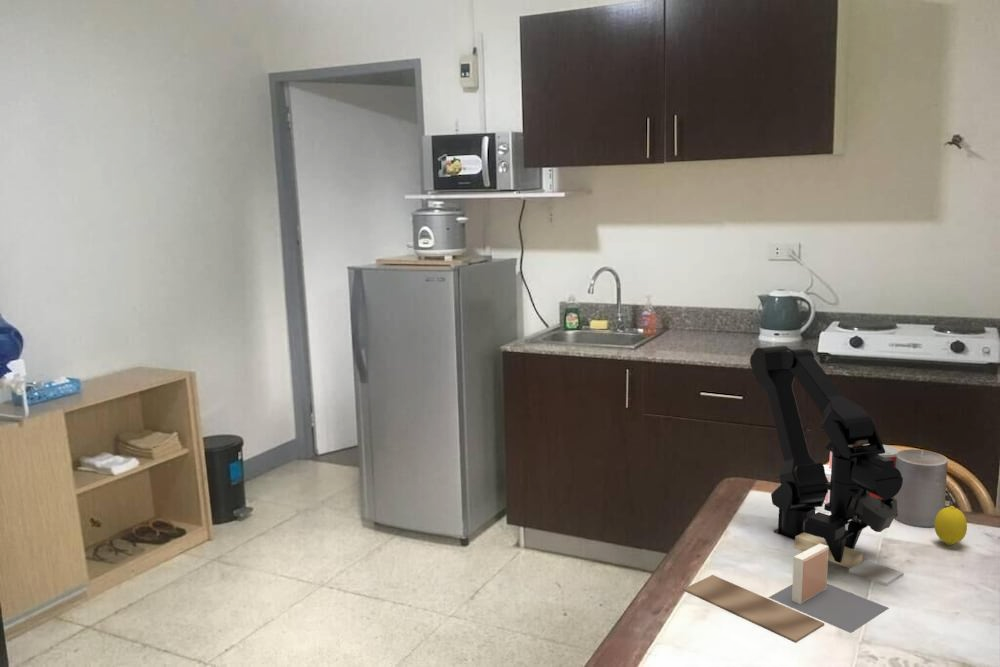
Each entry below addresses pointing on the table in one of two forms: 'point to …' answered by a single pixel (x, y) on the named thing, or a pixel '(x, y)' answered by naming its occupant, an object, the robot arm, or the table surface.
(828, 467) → the beverage cup
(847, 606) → the mat
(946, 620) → the table surface
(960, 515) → the lemon
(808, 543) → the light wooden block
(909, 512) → the pillar candle
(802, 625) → the board
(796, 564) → the tile
